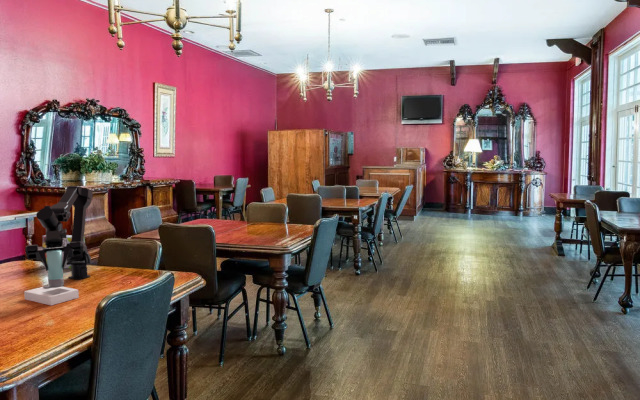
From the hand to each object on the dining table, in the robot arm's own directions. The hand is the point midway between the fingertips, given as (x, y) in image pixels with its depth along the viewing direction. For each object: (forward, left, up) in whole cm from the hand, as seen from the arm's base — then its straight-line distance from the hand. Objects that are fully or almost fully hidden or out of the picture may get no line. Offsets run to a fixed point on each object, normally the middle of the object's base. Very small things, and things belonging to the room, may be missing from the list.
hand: (55, 269), depth 187 cm
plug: (-1, +1, -7) cm, 7 cm away
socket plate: (-4, +1, -12) cm, 12 cm away
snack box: (-48, +36, -12) cm, 61 cm away
